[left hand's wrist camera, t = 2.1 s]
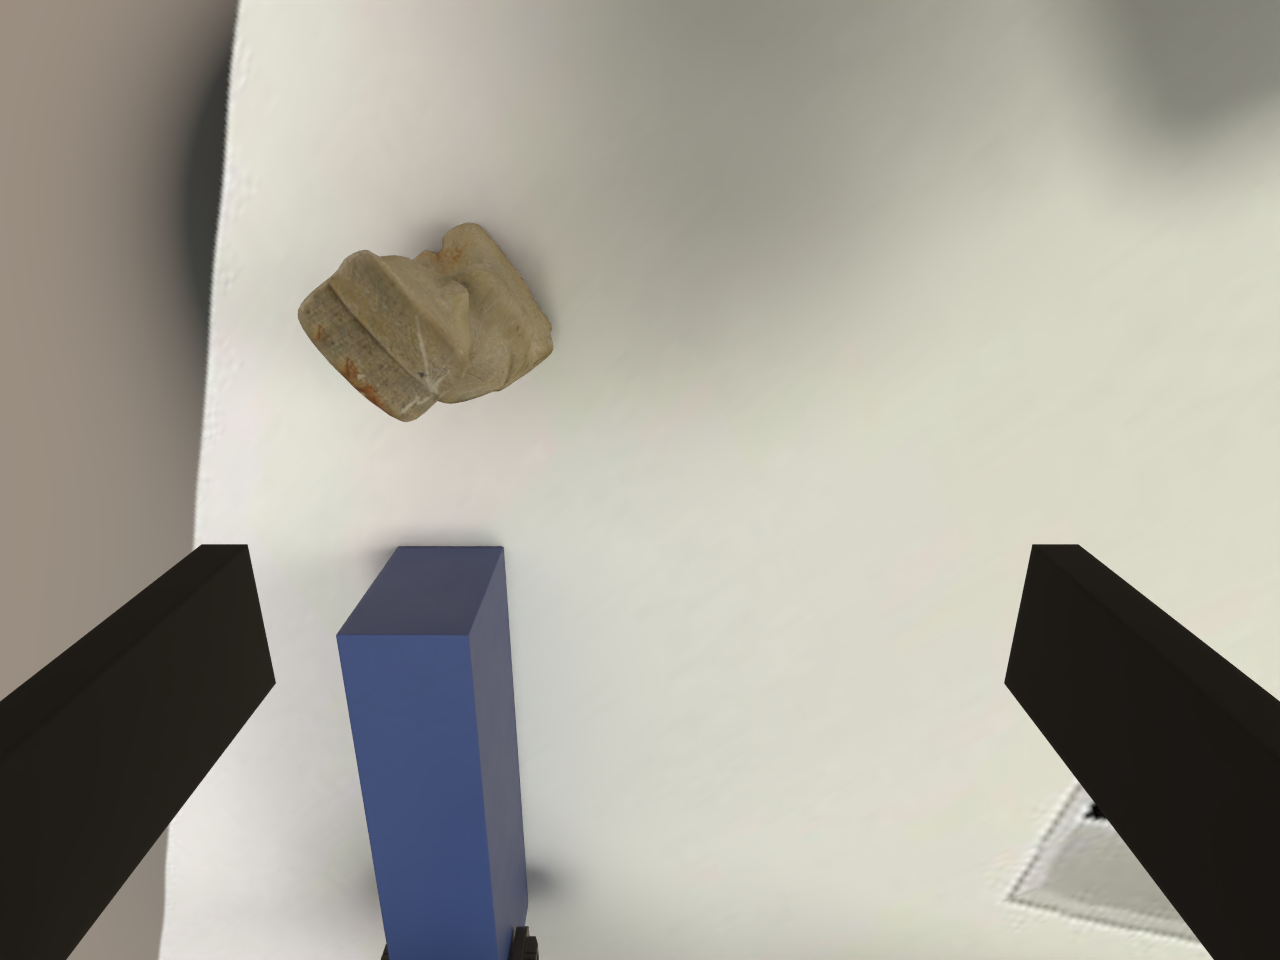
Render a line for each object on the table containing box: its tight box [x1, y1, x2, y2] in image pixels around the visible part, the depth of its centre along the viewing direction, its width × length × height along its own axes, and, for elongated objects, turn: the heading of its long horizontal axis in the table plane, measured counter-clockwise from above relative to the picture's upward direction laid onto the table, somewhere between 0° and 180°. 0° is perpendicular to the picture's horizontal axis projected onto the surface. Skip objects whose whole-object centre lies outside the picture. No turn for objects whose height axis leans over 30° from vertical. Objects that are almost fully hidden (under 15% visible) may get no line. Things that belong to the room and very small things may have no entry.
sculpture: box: [298, 223, 553, 422], centre depth 30 cm, size 6×7×15 cm
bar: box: [336, 547, 528, 960], centre depth 42 cm, size 27×6×9 cm, turn 0°
